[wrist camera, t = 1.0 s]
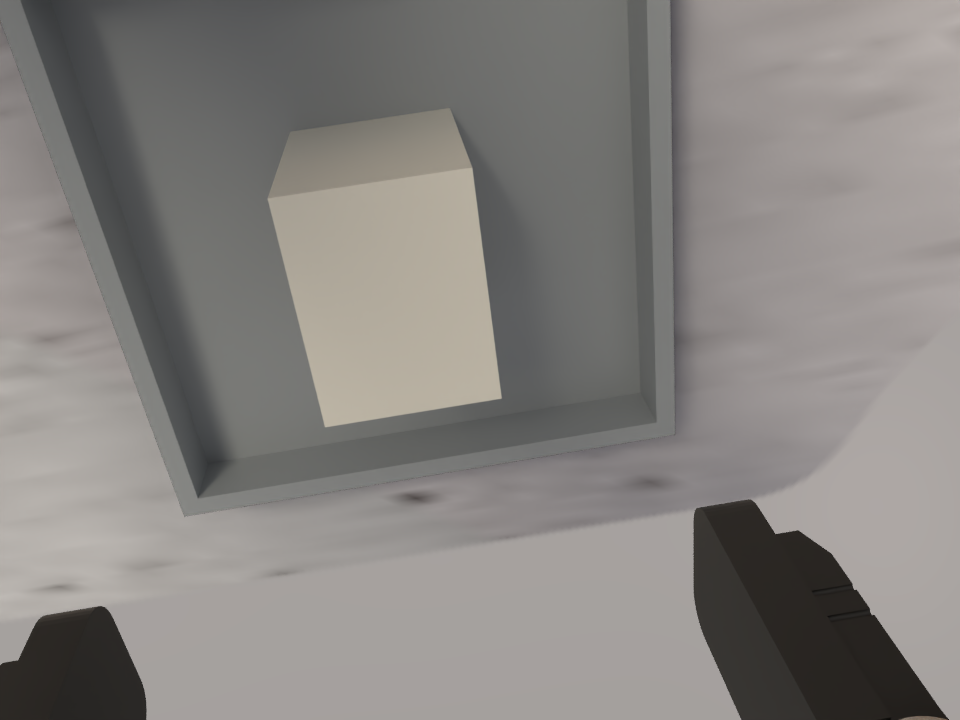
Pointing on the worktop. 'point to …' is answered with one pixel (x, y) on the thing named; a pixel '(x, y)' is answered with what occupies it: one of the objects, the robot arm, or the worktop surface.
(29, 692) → the robot arm
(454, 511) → the worktop surface
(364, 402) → the block
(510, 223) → the tray
